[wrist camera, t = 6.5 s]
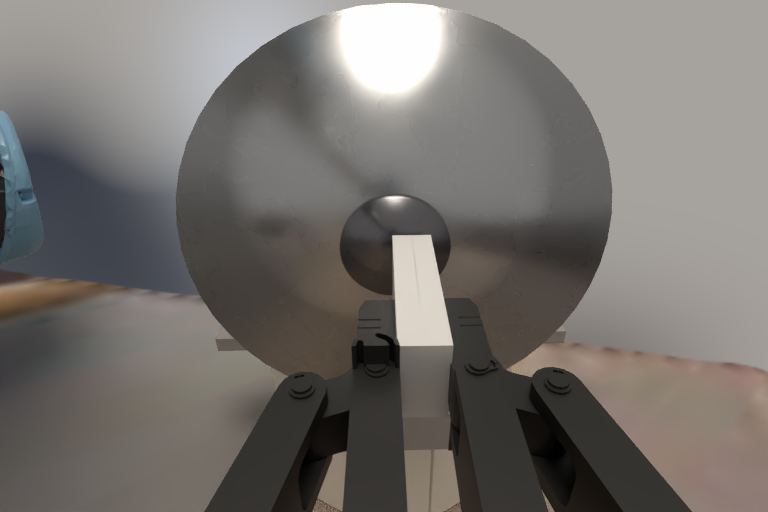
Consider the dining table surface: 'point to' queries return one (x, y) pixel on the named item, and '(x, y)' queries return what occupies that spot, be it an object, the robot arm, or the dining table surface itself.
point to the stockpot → (421, 448)
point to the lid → (391, 182)
